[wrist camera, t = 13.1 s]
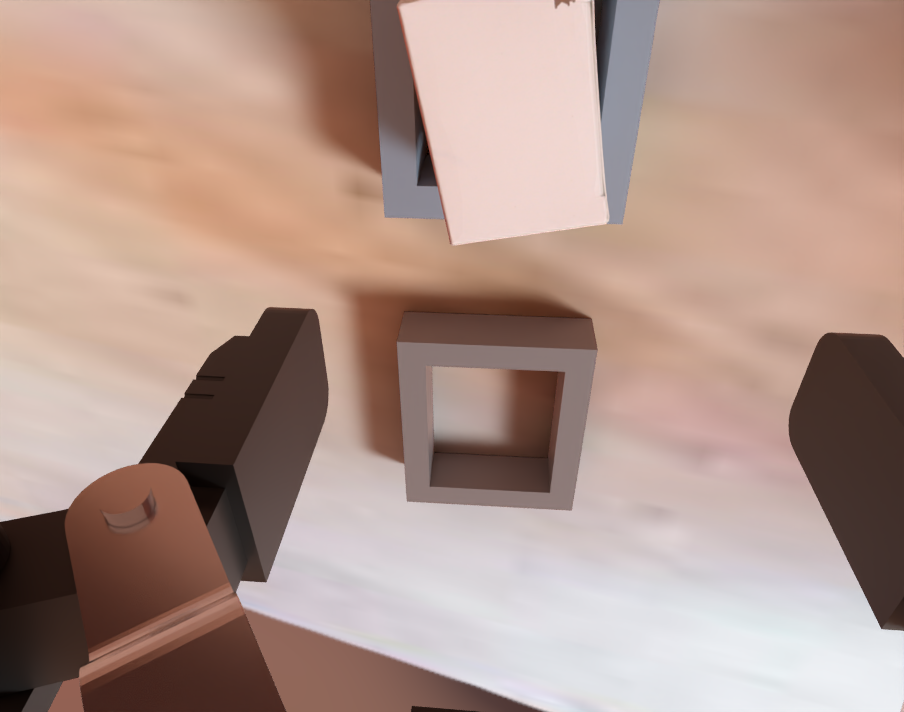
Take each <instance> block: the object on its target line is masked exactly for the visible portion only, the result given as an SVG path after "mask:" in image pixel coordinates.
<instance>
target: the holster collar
mask: <svg viewBox="0 0 904 712" xmlns="http://www.w3.org/2000/svg"><path fill="white" fill-rule="evenodd" d="M397 355H398V370H399V386H400V402H401V417H402V433H403V449H404V464H405V480H406V495H407V501H409V502H427V503H445V504H463V505H481V506H499V507H517V508H535V509H554V510H572V505H573V499H574V493H575V487H576V481H577V474H578V468H579V462H580V456H581V450H582V443H583V437H584V431H585V425H586V419H587V412H588V406H589V400H590V394H591V388H592V381H593V375H594V369H595V363H596V357H597V344H596V339H595V334H594V328H593V323H592V319H587V318H561V317H534V316H508V315H481V314H454V313H428V312H404V314H403V318H402V322H401V327H400V331H399V335H398V339H397ZM432 366H442V367H466V368H489V369H513V370H536V371H558V376H557V385H556V393H555V401H554V410H553V418H552V426H551V435H550V443H549V451H548V458H530V457H510V456H490V455H470V454H451V453H434V428H433V388H432Z"/></svg>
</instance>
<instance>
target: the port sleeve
mask: <svg viewBox="0 0 904 712" xmlns="http://www.w3.org/2000/svg"><path fill="white" fill-rule="evenodd" d="M399 1H400V0H370V7H371V22H372V37H373V51H374V66H375V81H376V96H377V110H378V125H379V140H380V155H381V169H382V184H383V199H384V214H385V217H389V218H423V219H445V218H444V214H443V209H442V205H441V200H440V196H439V191H438V187H437V182H436V178H435V174H434V169H433V165H432V160H431V156H430V155H427V151H426V134H425V129H424V125H423V121H422V116H421V112H420V108H419V103H418V99H417V94H416V90H415V85H414V81H413V77H412V72H411V68H410V63H409V59H408V54H407V50H406V45H405V41H404V37H403V33H402V28H401V24H400V19H399V15H398V11H397V4H398V2H399ZM659 1H660V0H603V1H602V9H601V17H600V26H599V34H598V42H597V51H596V57H597V73H598V89H599V104H600V119H601V134H602V148H603V161H604V173H605V185H606V194H607V202H608V210H609V221H608V222H607V223H606V224H623V218H624V212H625V206H626V200H627V194H628V188H629V182H630V176H631V170H632V164H633V158H634V152H635V146H636V140H637V134H638V128H639V122H640V115H641V109H642V103H643V97H644V91H645V85H646V79H647V73H648V67H649V61H650V55H651V49H652V43H653V37H654V31H655V25H656V19H657V13H658V7H659Z"/></svg>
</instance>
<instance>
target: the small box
mask: <svg viewBox="0 0 904 712" xmlns="http://www.w3.org/2000/svg"><path fill="white" fill-rule="evenodd" d="M397 11H398V15H399V19H400V24H401V28H402V33H403V37H404V41H405V45H406V50H407V54H408V59H409V63H410V68H411V72H412V77H413V81H414V85H415V90H416V94H417V99H418V103H419V108H420V112H421V116H422V121H423V125H424V129H425V134H426V138H427V143H428V147H429V152H430V156H431V160H432V165H433V169H434V174H435V178H436V182H437V187H438V191H439V196H440V200H441V205H442V209H443V214H444V218H445V222H446V226H447V230H448V235H449V240H450V244H451V245H460V244H467V243H474V242H481V241H489V240H496V239H503V238H510V237H517V236H524V235H531V234H539V233H546V232H553V231H560V230H567V229H574V228H581V227H588V226H595V225H603V224H606V223H607V222H608V221H609V210H608V202H607V194H606V185H605V173H604V161H603V148H602V134H601V119H600V104H599V89H598V73H597V57H596V41H595V14H594V0H400V1H399V2H398V4H397Z"/></svg>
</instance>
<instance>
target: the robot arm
mask: <svg viewBox="0 0 904 712" xmlns="http://www.w3.org/2000/svg"><path fill="white" fill-rule="evenodd" d="M327 406H328V380H327V373H326V366H325V359H324V352H323V345H322V339H321V332H320V325H319V319H318V315H317V313H316V311H315V310H314V309H300V308H277V307H269V308H267V309H266V310H265V311H264V313H263V314H262V316H261V318H260V319H259V321H258V323H257V324H256V326H255V328H254V329H253V331H252V333H251V334H250V336H234V337H233V338H231V339H230V340H229V341H227V342H226V343H224V344H223V345H222V346H220V347H219V348H218V349H216V350H215V351H213V352H212V353H211V354H210V355H209V357H208V358H207V360H206V361H205V363H204V364H203V366H202V367H201V369H200V370H199V372H198V373H197V375H196V380H193V381H192V383H191V384H190V386H189V387H188V389H187V390H186V392H185V397H184V398H181V399H180V401H179V402H178V404H177V406H176V407H175V409H174V410H173V412H172V413H171V415H170V416H169V418H168V419H167V421H166V422H165V424H164V425H163V427H162V428H161V430H160V431H159V433H158V435H157V436H156V438H155V439H154V441H153V442H152V444H151V445H150V447H149V448H148V450H147V451H146V453H145V454H144V456H143V457H142V459H141V461H140V462H139V464H136V465H131V466H127V467H123V468H120V469H117V470H115V471H113V472H110V473H108V474H106V475H104V476H102V477H101V478H99V479H97V480H96V481H94V482H93V483H91V484H90V485H89V486H88V487H86V488H85V489H84V490H83V491H82V492H81V493H80V494H79V495H78V496H77V497H76V498H75V500H74V501H73V503H72V504H71V506H70V507H69V509H65V510H61V511H56V512H51V513H46V514H40V515H35V516H30V517H24V518H19V519H14V520H9V521H3V522H0V712H48V710H49V708H50V706H51V704H52V702H53V700H54V698H55V696H56V694H57V692H58V690H59V688H60V686H61V684H62V682H63V681H66V680H70V679H74V678H78V677H79V682H80V691H81V697H82V703H83V709H84V712H286V709H285V707H284V705H283V702H282V700H281V698H280V695H279V693H278V691H277V688H276V686H275V683H274V681H273V678H272V676H271V674H270V671H269V669H268V667H267V664H266V662H265V659H264V657H263V655H262V652H261V650H260V647H259V645H258V643H257V640H256V638H255V635H254V633H253V631H252V628H251V626H250V624H249V621H248V619H247V617H246V614H245V612H244V609H243V607H242V605H241V602H240V600H239V598H238V596H237V594H236V591H237V588H238V586H239V583H240V581H254V582H267V579H268V576H269V574H270V571H271V568H272V565H273V563H274V560H275V557H276V554H277V551H278V549H279V546H280V543H281V540H282V537H283V535H284V532H285V529H286V526H287V524H288V521H289V518H290V515H291V512H292V510H293V507H294V504H295V501H296V499H297V496H298V493H299V490H300V487H301V485H302V482H303V479H304V476H305V474H306V471H307V468H308V465H309V462H310V460H311V457H312V454H313V451H314V449H315V446H316V443H317V440H318V437H319V435H320V432H321V429H322V426H323V423H324V421H325V417H326V413H327ZM789 436H790V441H791V445H792V447H793V449H794V451H795V453H796V455H797V458H798V460H799V462H800V464H801V466H802V468H803V470H804V472H805V474H806V476H807V478H808V480H809V482H810V484H811V486H812V488H813V490H814V492H815V494H816V496H817V498H818V500H819V502H820V505H821V507H822V509H823V511H824V513H825V515H826V517H827V519H828V521H829V523H830V525H831V527H832V529H833V531H834V533H835V535H836V537H837V539H838V541H839V543H840V545H841V547H842V549H843V551H844V554H845V556H846V558H847V560H848V562H849V564H850V566H851V568H852V570H853V572H854V574H855V576H856V578H857V580H858V582H859V584H860V586H861V588H862V590H863V592H864V594H865V596H866V598H867V600H868V603H869V605H870V607H871V609H872V611H873V613H874V615H875V617H876V619H877V621H878V623H879V625H880V627H881V629H888V630H902V631H904V358H903V357H902V355H901V354H900V353H899V352H898V351H897V349H896V348H895V347H894V346H893V344H892V343H891V342H890V341H889V340H888V339H887V338H886V337H885V336H883V335H876V334H853V333H827V334H825V335H824V336H822V338H821V339H820V340H819V342H818V344H817V346H816V348H815V350H814V353H813V355H812V358H811V360H810V363H809V365H808V368H807V370H806V373H805V375H804V378H803V380H802V383H801V385H800V388H799V390H798V393H797V395H796V398H795V400H794V402H793V405H792V408H791V411H790V416H789ZM411 712H476V711H465V710H453V709H441V708H429V707H417V706H416V707H415V706H412V709H411ZM901 712H904V702H903V705H902V709H901Z"/></svg>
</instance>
